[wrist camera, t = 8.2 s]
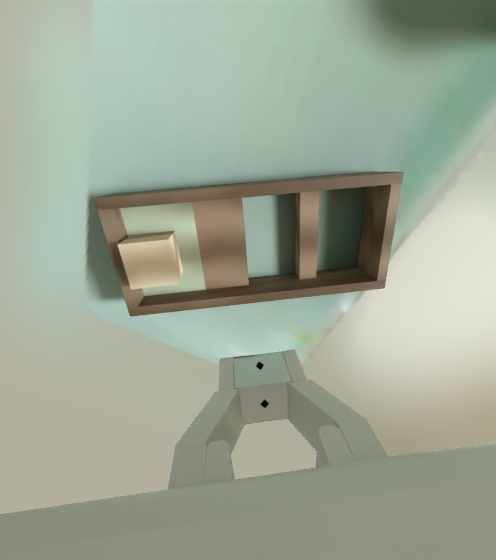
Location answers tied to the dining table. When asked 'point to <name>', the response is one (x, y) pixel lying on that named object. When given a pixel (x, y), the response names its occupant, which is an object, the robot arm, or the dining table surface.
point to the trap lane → (231, 241)
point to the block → (151, 259)
